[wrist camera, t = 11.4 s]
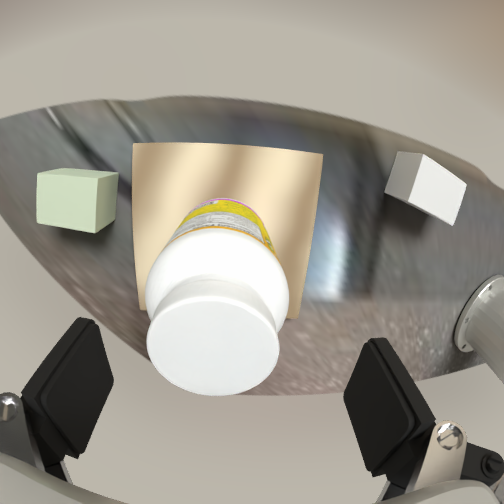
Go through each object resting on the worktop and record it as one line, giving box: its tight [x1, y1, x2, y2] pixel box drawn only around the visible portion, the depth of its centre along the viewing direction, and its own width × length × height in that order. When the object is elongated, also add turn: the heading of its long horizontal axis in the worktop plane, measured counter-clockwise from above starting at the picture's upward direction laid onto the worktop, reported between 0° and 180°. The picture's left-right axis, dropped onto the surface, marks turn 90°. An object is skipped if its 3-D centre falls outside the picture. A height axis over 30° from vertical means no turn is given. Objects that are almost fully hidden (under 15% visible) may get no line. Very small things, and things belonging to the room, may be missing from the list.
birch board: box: [132, 143, 323, 318], centre depth 22 cm, size 14×14×2 cm
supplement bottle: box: [145, 198, 289, 396], centre depth 15 cm, size 7×7×13 cm
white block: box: [384, 151, 467, 226], centre depth 20 cm, size 6×4×4 cm, turn 73°
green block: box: [37, 168, 119, 233], centre depth 19 cm, size 6×4×4 cm, turn 78°
